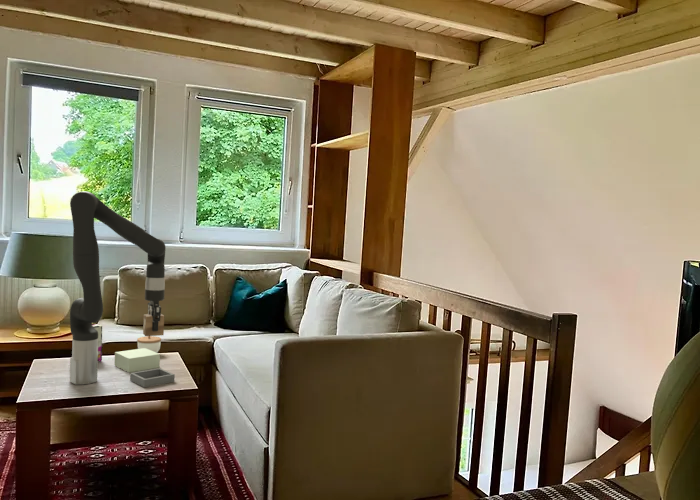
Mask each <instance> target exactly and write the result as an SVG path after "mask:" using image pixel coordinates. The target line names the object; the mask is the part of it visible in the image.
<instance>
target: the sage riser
mask: <svg viewBox="0 0 700 500" xmlns="http://www.w3.org/2000/svg"><path fill="white" fill-rule="evenodd" d="M160 359H161V355H160V353H159V352H157V353H156V352H154V351H151V350H149V349H146V348H142V349H138V348H135V349H128V350H122V351H115V352H114V365H115V366H114V367H116V366H117V367H116V368H119V369H120V368H121V369H120V370H122V369H123V371H124V370H125V372H126V371H127V372H126V373H128V372H129V373H134V372H140V371H146V370H152V369H158V368H161V367H160V363H161V361H160Z"/></svg>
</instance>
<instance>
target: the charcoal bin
mask: <svg viewBox="0 0 700 500" xmlns="http://www.w3.org/2000/svg"><path fill="white" fill-rule="evenodd" d="M129 373H130V374H129V381H131V382H133V383H135V384H136V385H139V387H142V388H149V387H153V386H158V385H165V384H168V383H174V382H175V373H172V372H170V371H169V370H166V369H163V368H162V367H159V368H153V369H147V370H141V371H135V372H129Z"/></svg>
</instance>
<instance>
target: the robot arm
mask: <svg viewBox="0 0 700 500" xmlns="http://www.w3.org/2000/svg"><path fill="white" fill-rule="evenodd" d="M69 202H70V204H69V205H70V211H71V212H70V213H71V218H72V226H73V234H72V237H73V238H72V265H73V269H74V271H75V273H76V276H77V278H78V280H79V282H80V284H81V287H82V292H83V297H79V298H76V299H75V300H74V301H73V302H72V303H71V305H70V310H69V325H70V326H69V327H70V334H71V335H72V348H71V350H72V351H71V354H72V355H71V357H69V358H70V359H69V382H70V383H71V384H73V385H75V386H77V385H90V384H94V383H96V382H97V381H98V331H97V330H96V329H95V328H94V327H93V326H92V325H93V324H96V323H97V322H99V321H100V320H101V318H102V316H103V312H104V302H103V298H102V290H101V289H102V288H101V278H100V277H101V276H100V249H99V243H98V239H97V235H96V231H95V220H97V221H99V222H101V223H103V224H104V225H105V226H107V227H108V228H109V229H111V230H112V231H113V232H114V233H115V234H117V235H118V236H120V237H122V238H123V239H125V241H128V242H129V243H131V244H133V245H135V246H137V247H138V248H139V249H141V250H142V251H144V252H145V253H147V264H146V271H145V272H146V274H145V275H146V277H145V285H144V287H145V288H144V300H145V301H147V302H148V301H149V302H148V303H147V314H151V316H152V331H158V322H159V321H160V316H161V314H162V307H161V304H160V301H164V300H165V294H166V293H165V292H166V291H165V288H166V283H165V282H166V281H165V272H166V271H165V270H166V267H165V259H166V243H165V242H164V241H163V240H162V239H160V238H156V237H155V236H153V235H152V234H150V233H148V232H147V231H146V230H145V229H143V228H142V227H140V226H139V225H137V224H135V223H134V222H132V221H130V220H129V219H127V218H126V217H124V216H122V215H121V214H119V213H117V212H116V211H115V210H113V209H111V208H110V207H108V206H107V205H106V204H105V203H104V202H103V201H101V200H100V199H99V198H98V197H97V196H96V195H95V194H94V193H92V192H90V191H78V192H76V193H74V194H73V195H72V197H70V201H69ZM155 316H157V318H155Z"/></svg>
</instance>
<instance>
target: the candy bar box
mask: <svg viewBox="0 0 700 500" xmlns="http://www.w3.org/2000/svg"><path fill="white" fill-rule="evenodd" d="M92 326H93V327H94V328H95V329H96V330H97V331H98V362H102V361H103V325H102V324H98V323H97V324H96V323H94V324H92Z"/></svg>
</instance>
